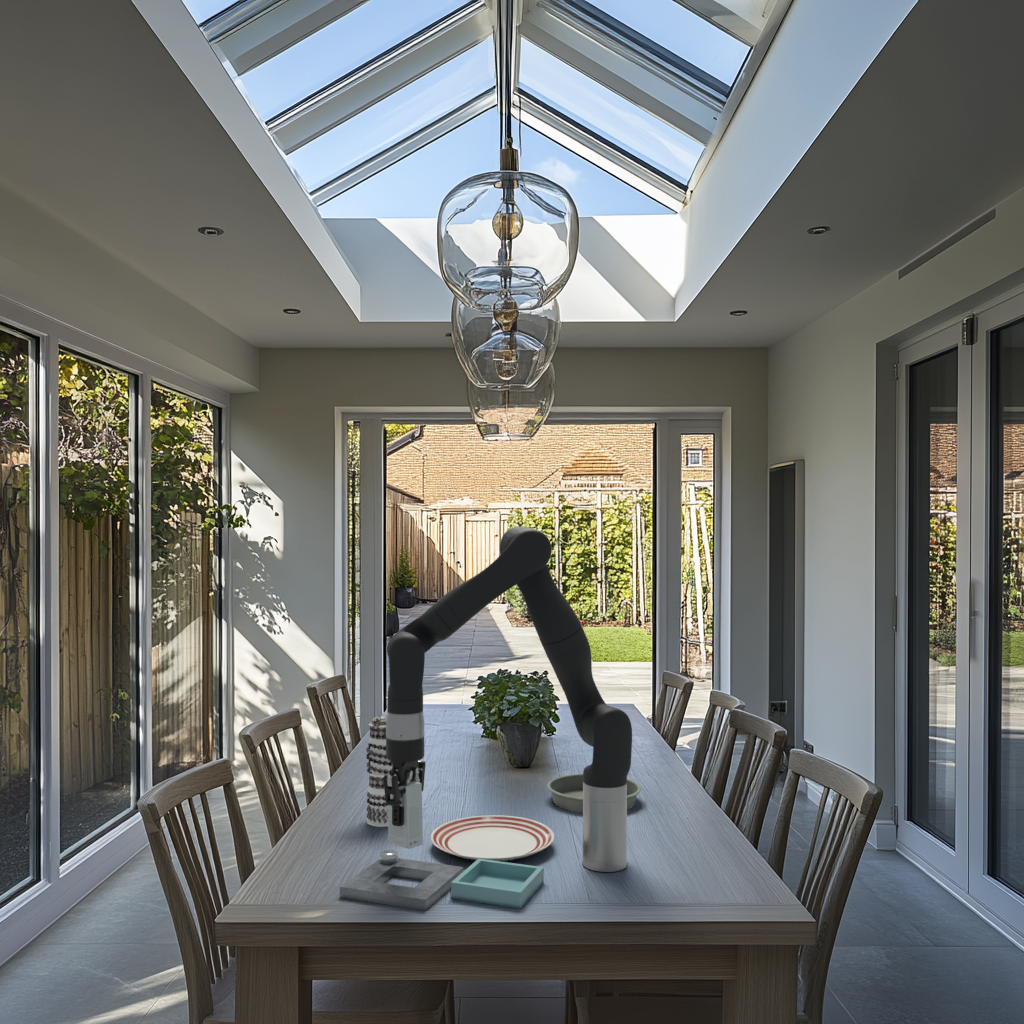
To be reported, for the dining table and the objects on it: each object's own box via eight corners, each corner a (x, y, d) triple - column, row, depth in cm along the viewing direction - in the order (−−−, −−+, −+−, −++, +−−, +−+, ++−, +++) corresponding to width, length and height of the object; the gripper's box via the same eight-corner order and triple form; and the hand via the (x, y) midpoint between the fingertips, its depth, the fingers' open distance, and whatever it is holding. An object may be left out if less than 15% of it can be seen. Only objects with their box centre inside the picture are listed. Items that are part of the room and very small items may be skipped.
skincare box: (423, 844, 178) (424, 782, 179) (406, 850, 175) (407, 786, 176) (403, 837, 183) (403, 776, 183) (385, 843, 179) (386, 780, 180)
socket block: (383, 865, 190) (384, 848, 190) (463, 877, 184) (463, 859, 184) (339, 897, 173) (339, 878, 173) (425, 910, 167) (425, 890, 167)
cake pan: (536, 811, 230) (536, 793, 231) (559, 786, 254) (559, 770, 254) (632, 820, 223) (632, 802, 223) (647, 794, 247) (647, 777, 247)
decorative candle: (408, 824, 218) (409, 719, 218) (369, 829, 214) (371, 722, 215) (398, 814, 226) (399, 712, 227) (361, 818, 223) (362, 715, 224)
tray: (478, 873, 186) (478, 858, 186) (543, 882, 181) (543, 867, 182) (450, 898, 173) (451, 882, 173) (520, 908, 168) (520, 892, 168)
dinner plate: (542, 875, 186) (543, 859, 186) (414, 865, 192) (414, 849, 192) (562, 833, 213) (562, 819, 213) (449, 825, 218) (449, 811, 219)
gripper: (406, 743, 172) (405, 834, 171) (437, 728, 185) (437, 812, 185) (370, 740, 174) (370, 829, 174) (404, 726, 188) (404, 808, 187)
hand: (405, 820), depth 179 cm, fingers closed on skincare box, 5 cm apart
